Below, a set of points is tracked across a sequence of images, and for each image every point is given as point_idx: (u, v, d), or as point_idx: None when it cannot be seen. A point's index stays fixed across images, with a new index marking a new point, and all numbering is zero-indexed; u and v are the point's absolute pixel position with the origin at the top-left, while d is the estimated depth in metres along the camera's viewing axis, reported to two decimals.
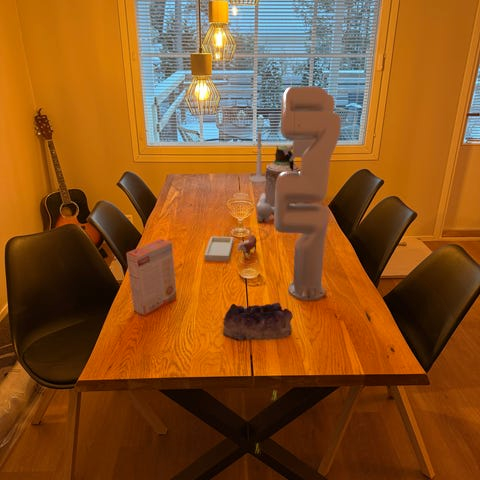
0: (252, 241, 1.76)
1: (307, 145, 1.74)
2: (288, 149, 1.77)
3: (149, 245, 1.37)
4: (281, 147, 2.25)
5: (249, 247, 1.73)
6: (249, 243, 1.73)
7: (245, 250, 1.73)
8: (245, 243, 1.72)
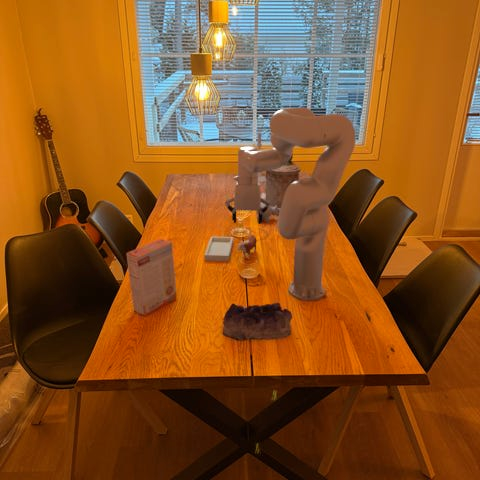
0: (252, 241, 1.76)
1: (248, 198, 1.66)
2: (230, 201, 1.69)
3: (149, 245, 1.37)
4: None
5: (249, 247, 1.73)
6: (249, 243, 1.73)
7: (245, 250, 1.73)
8: (245, 243, 1.72)
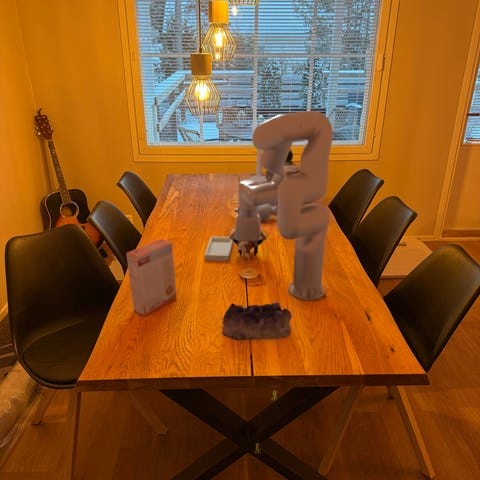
0: (252, 241, 1.76)
1: (249, 229, 1.70)
2: (233, 234, 1.74)
3: (149, 245, 1.37)
4: None
5: (249, 247, 1.73)
6: (249, 243, 1.73)
7: (245, 250, 1.73)
8: (245, 243, 1.72)
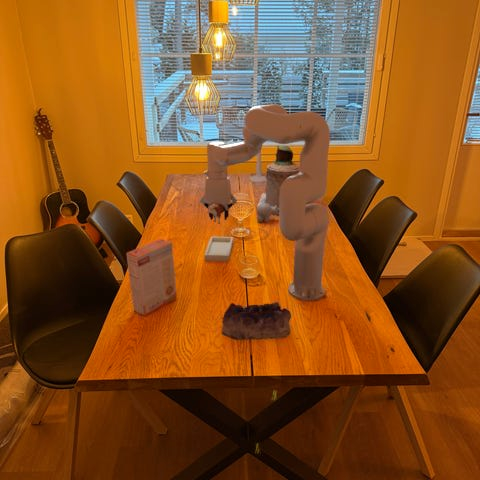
0: (222, 205, 1.75)
1: (218, 192, 1.70)
2: (203, 198, 1.73)
3: (149, 245, 1.37)
4: (282, 147, 2.25)
5: (219, 210, 1.72)
6: (219, 206, 1.72)
7: (215, 213, 1.72)
8: (215, 206, 1.71)
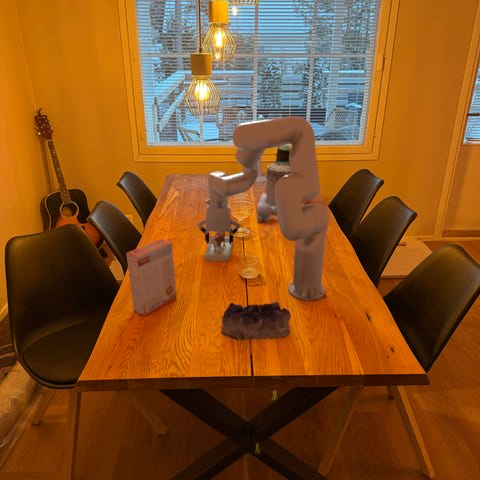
0: (222, 235, 1.80)
1: (219, 220, 1.74)
2: (202, 223, 1.78)
3: (149, 245, 1.37)
4: (282, 147, 2.26)
5: (220, 240, 1.77)
6: (219, 237, 1.77)
7: (216, 244, 1.77)
8: (216, 237, 1.75)
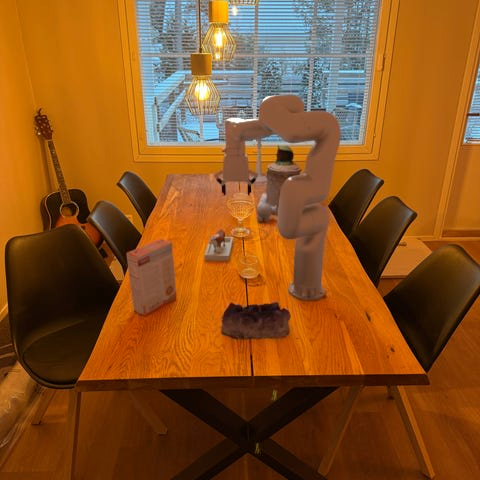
0: (222, 235, 1.80)
1: (237, 169, 1.69)
2: (218, 173, 1.72)
3: (149, 245, 1.37)
4: (282, 147, 2.26)
5: (220, 240, 1.77)
6: (219, 237, 1.77)
7: (216, 244, 1.77)
8: (216, 237, 1.75)
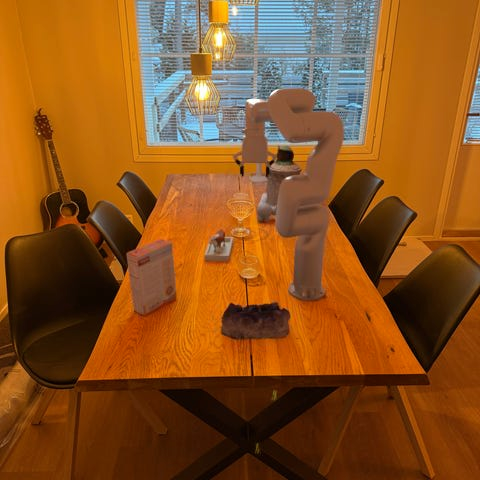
0: (222, 235, 1.80)
1: (256, 150, 1.69)
2: (237, 154, 1.72)
3: (149, 245, 1.37)
4: (282, 147, 2.26)
5: (220, 240, 1.77)
6: (219, 237, 1.77)
7: (216, 244, 1.77)
8: (216, 237, 1.75)
